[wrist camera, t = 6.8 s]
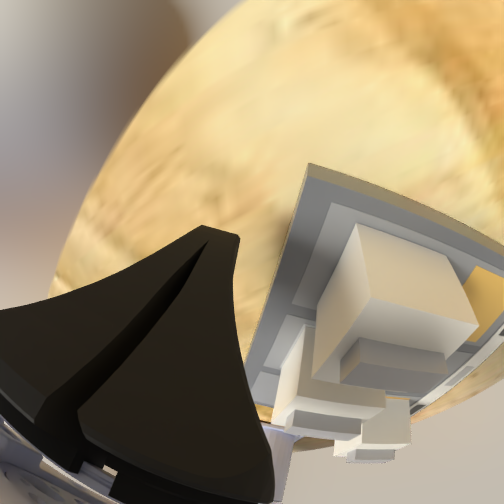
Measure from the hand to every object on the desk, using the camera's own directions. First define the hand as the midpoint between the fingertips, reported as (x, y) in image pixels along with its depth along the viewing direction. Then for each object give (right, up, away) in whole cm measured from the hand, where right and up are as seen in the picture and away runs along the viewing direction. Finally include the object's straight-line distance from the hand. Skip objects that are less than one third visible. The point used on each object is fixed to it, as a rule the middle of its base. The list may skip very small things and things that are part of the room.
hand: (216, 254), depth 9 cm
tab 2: (+6, -1, 0) cm, 6 cm away
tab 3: (+10, -11, +7) cm, 16 cm away
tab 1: (+5, -5, +4) cm, 8 cm away
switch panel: (+9, -5, +5) cm, 11 cm away
